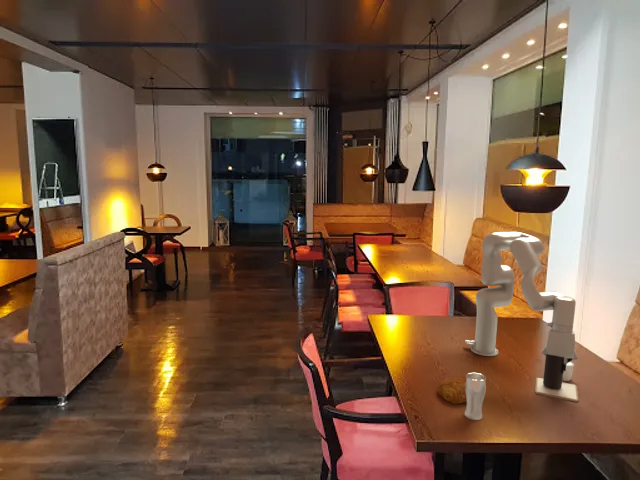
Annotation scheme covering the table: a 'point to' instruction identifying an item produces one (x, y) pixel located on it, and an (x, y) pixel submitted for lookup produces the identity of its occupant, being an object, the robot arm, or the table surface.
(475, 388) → the beer glass
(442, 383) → the croissant
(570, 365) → the short white cylinder
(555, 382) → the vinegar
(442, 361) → the table surface
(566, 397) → the plate
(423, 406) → the table surface
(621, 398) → the table surface
